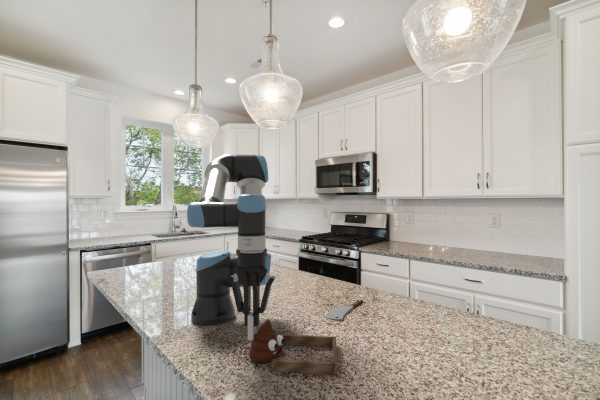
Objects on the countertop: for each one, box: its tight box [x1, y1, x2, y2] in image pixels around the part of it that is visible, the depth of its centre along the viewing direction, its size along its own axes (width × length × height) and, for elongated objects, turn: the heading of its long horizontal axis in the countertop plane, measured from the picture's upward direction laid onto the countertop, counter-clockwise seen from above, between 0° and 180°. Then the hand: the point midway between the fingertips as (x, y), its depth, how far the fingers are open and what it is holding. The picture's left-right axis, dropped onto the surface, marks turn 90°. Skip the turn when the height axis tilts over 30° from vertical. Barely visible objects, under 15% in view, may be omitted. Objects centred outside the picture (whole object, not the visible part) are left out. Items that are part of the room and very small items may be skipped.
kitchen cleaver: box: [322, 299, 364, 322], centre depth 114 cm, size 24×1×10 cm
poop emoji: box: [248, 318, 284, 364], centre depth 79 cm, size 10×8×9 cm
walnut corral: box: [272, 333, 338, 376], centre depth 78 cm, size 16×15×2 cm
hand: (251, 337), depth 79 cm, fingers closed
